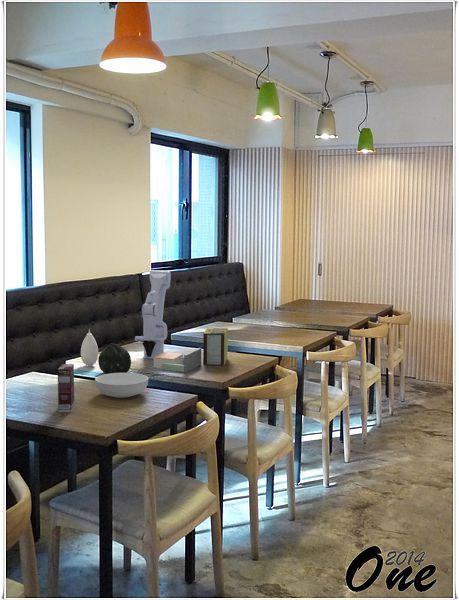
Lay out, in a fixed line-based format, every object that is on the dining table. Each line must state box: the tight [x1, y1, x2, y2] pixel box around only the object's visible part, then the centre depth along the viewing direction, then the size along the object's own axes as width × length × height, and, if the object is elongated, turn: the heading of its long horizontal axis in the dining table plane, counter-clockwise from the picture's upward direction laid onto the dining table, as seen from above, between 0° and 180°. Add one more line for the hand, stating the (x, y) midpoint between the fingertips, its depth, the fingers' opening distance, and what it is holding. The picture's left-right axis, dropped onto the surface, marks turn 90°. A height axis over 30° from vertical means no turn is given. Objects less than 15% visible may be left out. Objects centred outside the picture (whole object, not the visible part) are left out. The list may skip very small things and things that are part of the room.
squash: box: [97, 342, 132, 375], centre depth 295 cm, size 14×15×15 cm
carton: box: [153, 351, 184, 369], centre depth 313 cm, size 10×12×5 cm
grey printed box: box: [161, 347, 203, 373], centre depth 310 cm, size 12×18×8 cm
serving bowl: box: [94, 372, 149, 399], centre depth 261 cm, size 21×21×7 cm
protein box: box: [202, 327, 229, 366], centre depth 323 cm, size 10×15×16 cm
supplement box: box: [57, 363, 76, 413], centre depth 240 cm, size 9×5×16 cm, turn 5°
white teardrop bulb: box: [80, 328, 99, 368], centre depth 308 cm, size 8×8×18 cm
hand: (149, 356), depth 316 cm, fingers closed
